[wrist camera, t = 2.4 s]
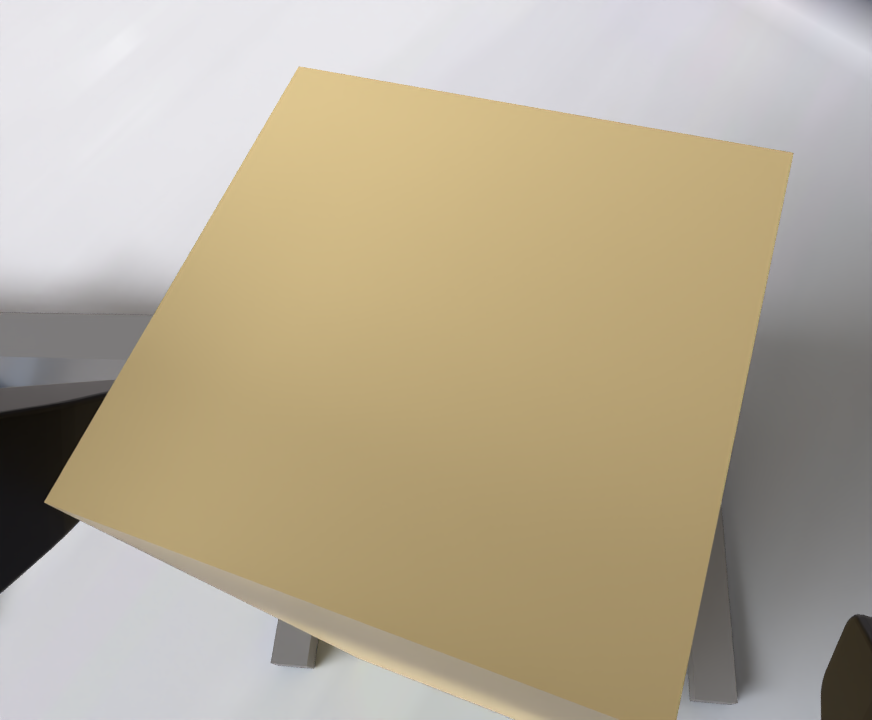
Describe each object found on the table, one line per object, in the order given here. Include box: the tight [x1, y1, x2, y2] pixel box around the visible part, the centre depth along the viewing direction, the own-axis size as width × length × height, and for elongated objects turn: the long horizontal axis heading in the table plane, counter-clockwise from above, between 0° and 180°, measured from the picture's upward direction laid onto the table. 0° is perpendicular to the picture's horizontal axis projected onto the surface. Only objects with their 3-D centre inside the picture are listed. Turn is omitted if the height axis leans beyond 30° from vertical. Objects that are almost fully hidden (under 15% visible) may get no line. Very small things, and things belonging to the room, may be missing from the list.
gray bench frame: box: [0, 312, 738, 705], centre depth 17 cm, size 27×7×4 cm, turn 85°
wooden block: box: [44, 67, 793, 720], centre depth 12 cm, size 5×5×12 cm
